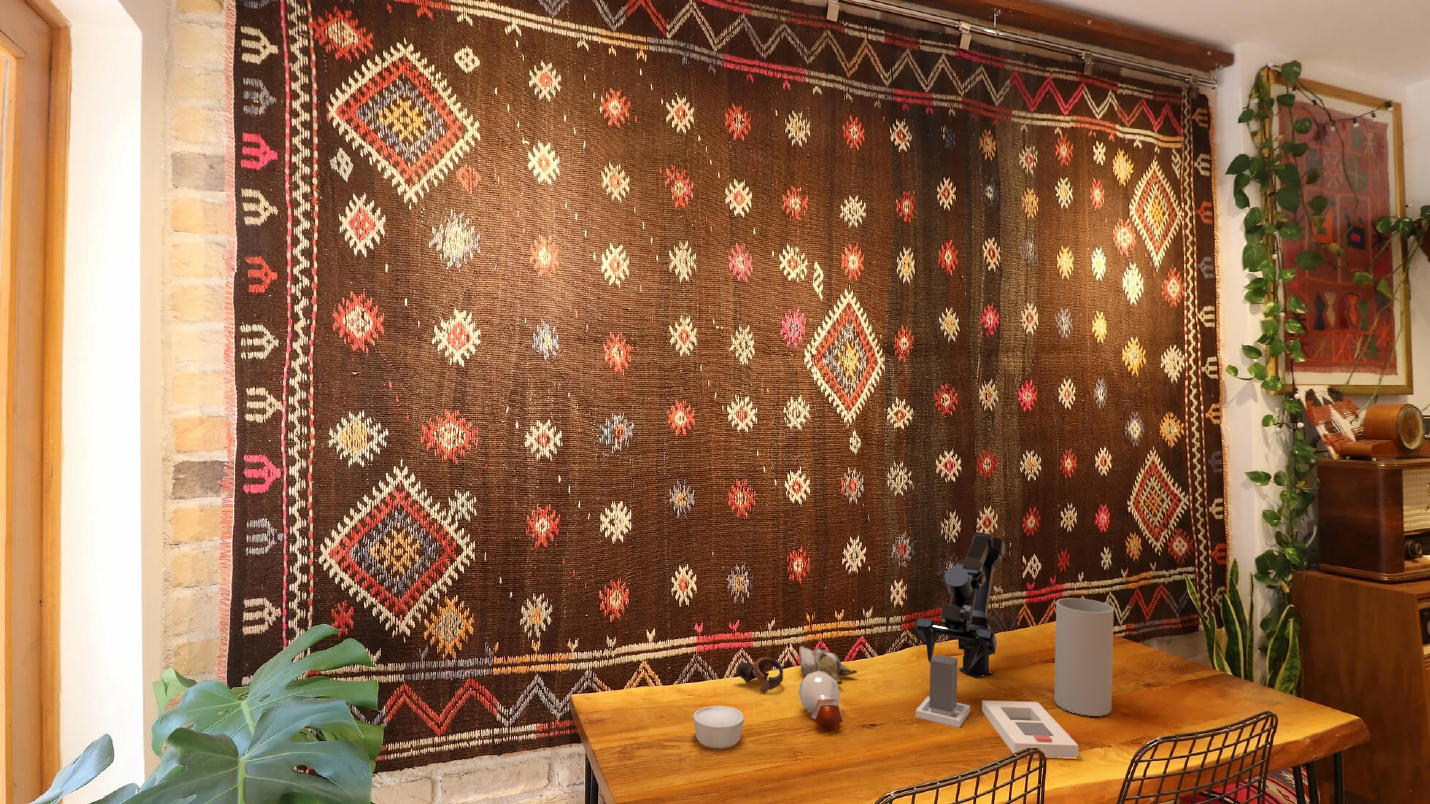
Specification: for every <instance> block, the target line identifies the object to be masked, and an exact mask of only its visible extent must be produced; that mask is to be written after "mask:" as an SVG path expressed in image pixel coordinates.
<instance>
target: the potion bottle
mask: <svg viewBox="0 0 1430 804" xmlns="http://www.w3.org/2000/svg"><path fill="white" fill-rule="evenodd" d="M798 689H799V690H798V696H799V700H800V703H801V706H803V707H804V709H806V711H808V712H809V713H810V714H811V716H810V717H811V718H812V719H814V723H815V724H816V725H818V726H819V727H821V728H822V729H824V730H825V731H827V732H829V731H831V730H832V729H834V728H835V727H837V726H838V725H840V724H841V723H842V722H844V721H843V718H842V717H843V714H842V710H841V707H840V698H841V697H840V696H841V692H840V688H839V684H837V681H836V680H835V679H833V678H832V677H831V676H830V675H829V674H827V673H823V672H820V671H816V672H813V673H810V674H807V675H806V676H804V678H803V679H802V680H801V681H800V683H799V688H798Z"/></svg>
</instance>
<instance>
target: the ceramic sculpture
mask: <svg viewBox="0 0 1430 804" xmlns="http://www.w3.org/2000/svg"><path fill="white" fill-rule="evenodd" d="M798 649H799V650H798V651H799V652H798V655H799V656H798V657H799V660H798V661H799V665H800V673H801V674H802V676H804V677H806V675H807V674H810V673H813V672H816V671H820V672H823V673H827V674H829V675H830V676H831V677H832V678H833V679H835V680H836V681H837V684H838V685H842V684H843V682H842V681H841V679H840V677H839V676H841V677H846V676H851V675H855V674H857V673H858V671H857V670H854V669H853V670H851V669H850V668H849V667H847V665H845V664H843V663H842V662H841V660H840V658H839V656H838V655H837V654H836V653H833V652H831V651H827V649H826V647H825V646H824V647H822V646H821V647H817V648H816V649H815V650H811V649H809V648H807V647H804V646H799V648H798Z"/></svg>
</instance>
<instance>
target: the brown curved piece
mask: <svg viewBox="0 0 1430 804" xmlns="http://www.w3.org/2000/svg"><path fill="white" fill-rule="evenodd" d="M769 664H772V665H773V667H774V668H776V669H778V672H779V673H778V675H776V676H769V675H770V673H769V672H767V671H765V670H763V669H764V668H765V666H767V665H769ZM735 670H736V672H737V674H738V676H739V677H740V678H741V679H743V681H744V682H745V684H749V683H750V682H751V681H753V680H754V679H755V680H756V679H757V680H758V681H759V682H760V683H761V685H760V686H761V687H759V692H760V693H762V694H766V693H767V692H768V691H771V690H774V689H775V688H777V687H779V686H781V684H782V682H783V680H784V669H783V667H782V665H781V664H780V662H778V661H777V660H776V659H774V658H770V657H766V656H765V657H760V658H758V659H757V660H756V661H754V662H753V663H748V662H740V663H739V664H738V665H737V666H736V669H735Z"/></svg>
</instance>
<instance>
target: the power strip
mask: <svg viewBox="0 0 1430 804" xmlns="http://www.w3.org/2000/svg"><path fill="white" fill-rule="evenodd" d="M981 704H982V705H981V707H982V710H981V711H982V713H983V714H984V716H985V717H986V718H987V719H988V721H989V723H990V724H991V725H992V726H993V728H994V730H995V731H996V732H997V734H998V735H999V736H1000V738H1001V739H1002V740H1003V741H1004V742H1005V744H1006V745H1007V747H1008V748H1009V750H1010V752H1011V753H1012V754H1013V753H1015V752H1018V751H1021V750H1023V749H1026V748H1039V749H1040V750H1041V751H1043V752H1044V753H1045V756H1046V757H1047V758H1058V757H1061V758H1062V757H1078V758H1079V745H1078V743H1076V741H1075V740H1074V739H1073V738H1072V737H1071V736H1070V735H1069V734H1068V732H1066V730H1064V728H1063V727H1062V726H1061V725H1060V724H1059V723H1058V722H1057V721H1056V720H1055V719H1054V717H1052V715H1051V714H1050V713H1048V712H1047V710H1046V709H1045V708H1044V707H1043V706H1042V705H1041V703H1039V702H1038V701H1012V700H1011V701H1009V700H1008V701H1007V700H984V699H983V700H981ZM1033 759H1038V758H1037V756H1034V758H1033Z"/></svg>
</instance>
